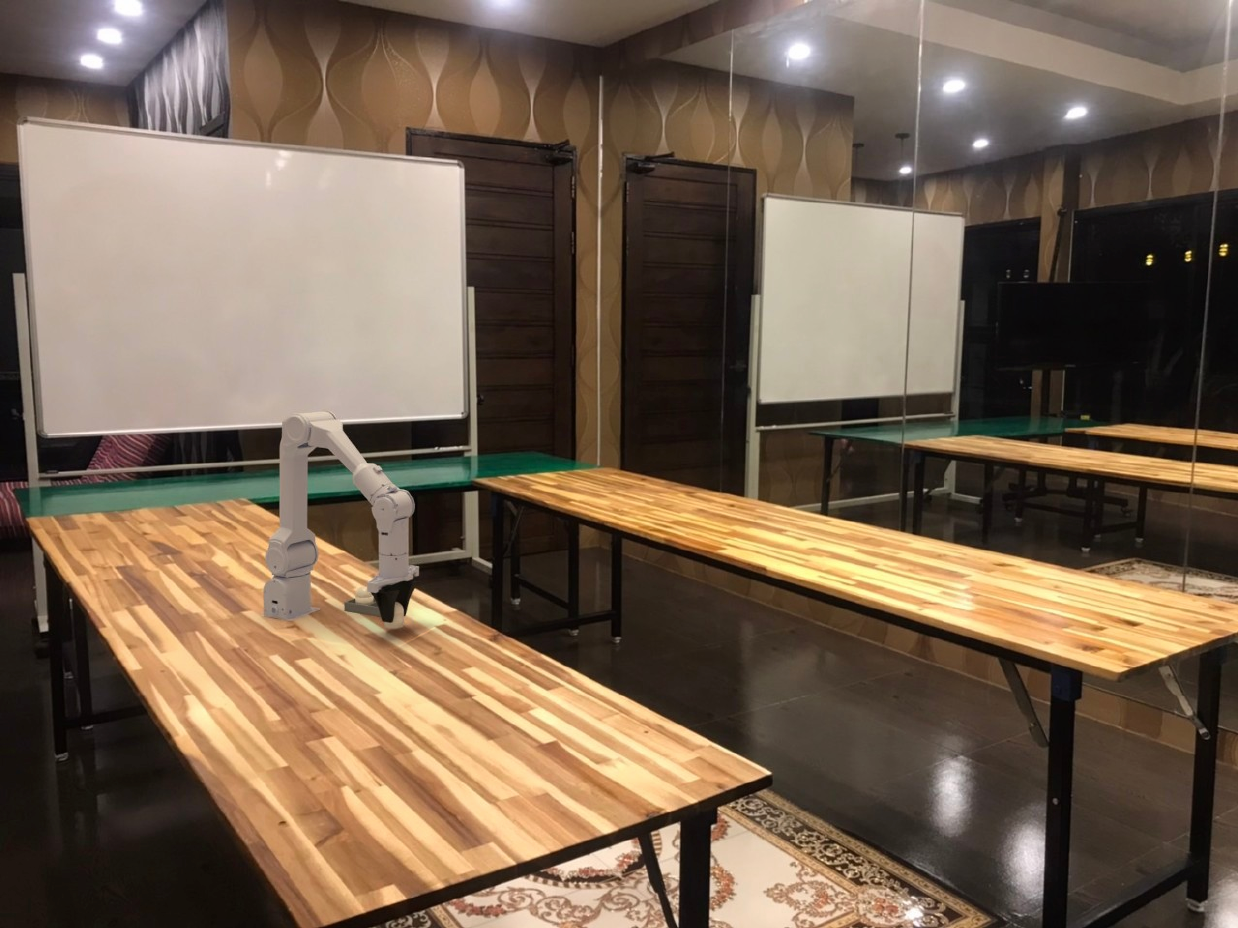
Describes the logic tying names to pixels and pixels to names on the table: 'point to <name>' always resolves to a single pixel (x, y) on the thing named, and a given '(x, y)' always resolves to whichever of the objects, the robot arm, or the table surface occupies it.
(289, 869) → the table surface
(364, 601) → the carton egg
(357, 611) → the egg carton
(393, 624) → the cream rounded cylinder
